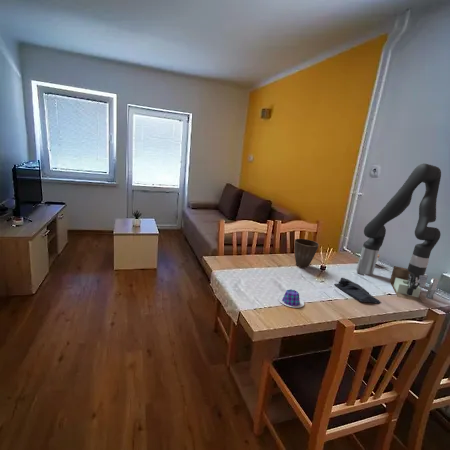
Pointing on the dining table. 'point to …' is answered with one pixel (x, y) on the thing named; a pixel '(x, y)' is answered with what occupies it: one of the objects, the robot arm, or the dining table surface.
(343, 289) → the dark folded cloth
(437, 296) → the dining table surface
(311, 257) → the plant pot
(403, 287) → the sliding block
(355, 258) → the dining table surface
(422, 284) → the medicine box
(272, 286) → the dining table surface
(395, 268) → the track and wall
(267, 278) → the dining table surface
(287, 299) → the checked sun hat
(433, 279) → the steel peg
